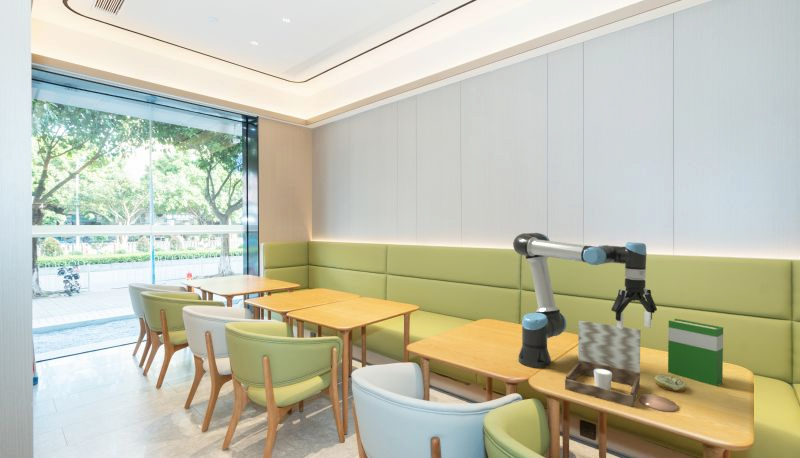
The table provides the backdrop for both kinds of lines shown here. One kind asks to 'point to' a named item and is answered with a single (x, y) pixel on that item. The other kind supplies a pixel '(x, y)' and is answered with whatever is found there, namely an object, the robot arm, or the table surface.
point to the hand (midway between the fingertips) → (633, 327)
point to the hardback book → (696, 351)
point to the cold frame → (607, 360)
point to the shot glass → (602, 378)
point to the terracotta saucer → (657, 402)
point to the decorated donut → (670, 383)
